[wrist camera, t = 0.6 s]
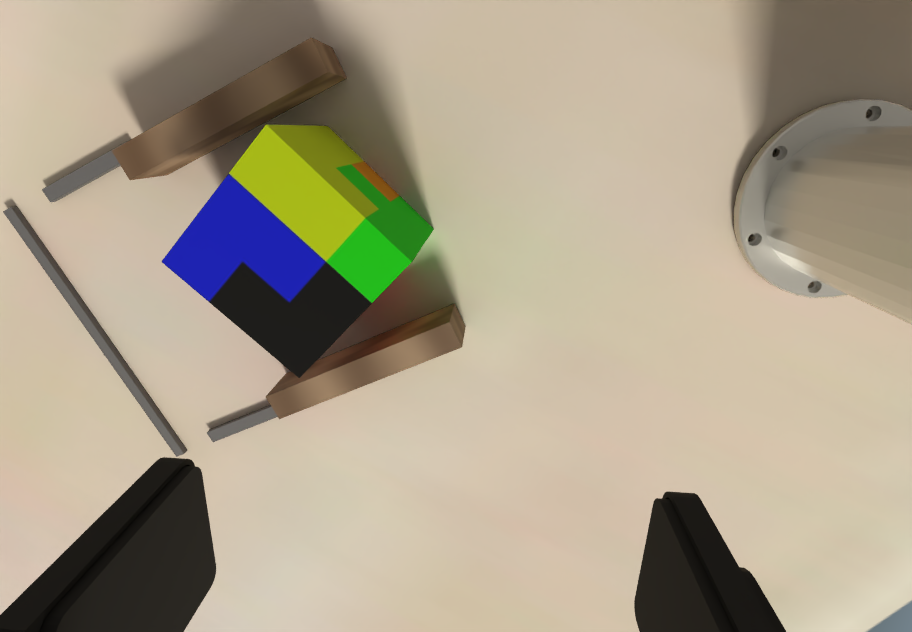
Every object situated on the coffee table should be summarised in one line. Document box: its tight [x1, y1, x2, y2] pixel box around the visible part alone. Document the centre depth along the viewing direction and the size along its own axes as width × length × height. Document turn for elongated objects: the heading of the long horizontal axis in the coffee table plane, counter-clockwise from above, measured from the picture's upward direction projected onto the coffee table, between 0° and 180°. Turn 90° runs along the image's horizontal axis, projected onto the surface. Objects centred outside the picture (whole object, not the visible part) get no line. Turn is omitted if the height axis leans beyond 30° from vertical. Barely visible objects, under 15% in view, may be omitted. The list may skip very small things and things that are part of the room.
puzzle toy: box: [162, 124, 434, 378], centre depth 33 cm, size 10×10×10 cm
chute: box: [112, 38, 465, 419], centre depth 37 cm, size 15×21×4 cm
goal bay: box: [3, 141, 278, 457], centre depth 41 cm, size 12×23×1 cm, turn 25°
